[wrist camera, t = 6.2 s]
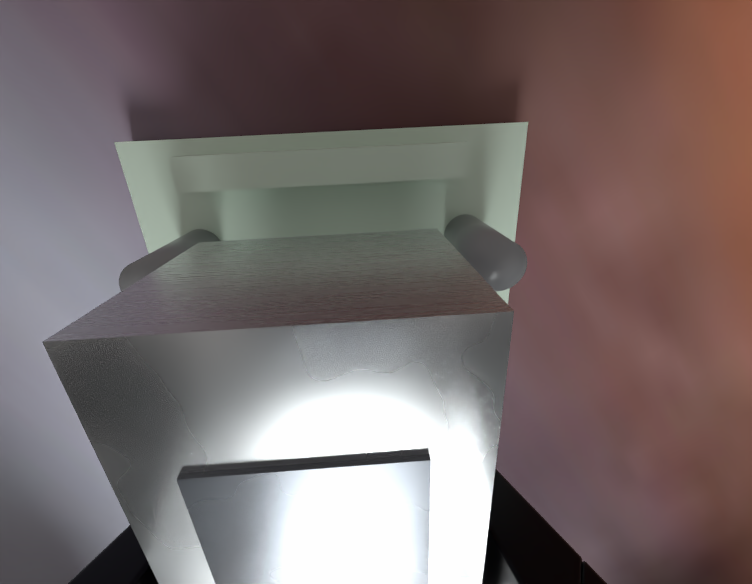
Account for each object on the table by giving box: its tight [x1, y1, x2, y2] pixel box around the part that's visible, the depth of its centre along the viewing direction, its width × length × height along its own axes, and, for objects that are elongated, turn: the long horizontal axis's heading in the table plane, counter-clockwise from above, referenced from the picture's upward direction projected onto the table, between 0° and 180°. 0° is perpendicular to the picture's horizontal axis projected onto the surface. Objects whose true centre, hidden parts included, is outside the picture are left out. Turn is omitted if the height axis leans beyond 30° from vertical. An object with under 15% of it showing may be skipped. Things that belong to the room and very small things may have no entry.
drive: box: [43, 229, 514, 584], centre depth 8 cm, size 5×10×4 cm, turn 3°
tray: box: [114, 122, 528, 304], centre depth 11 cm, size 11×14×4 cm
